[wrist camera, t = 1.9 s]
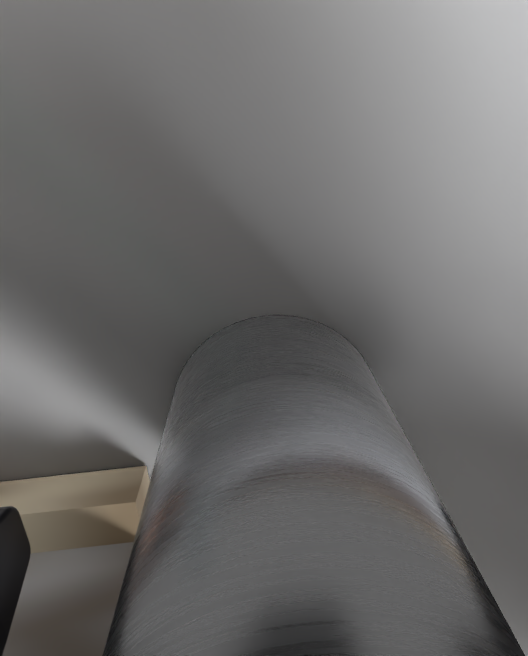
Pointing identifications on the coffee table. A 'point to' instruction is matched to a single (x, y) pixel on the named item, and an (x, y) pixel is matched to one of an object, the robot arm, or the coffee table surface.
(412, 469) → the cell
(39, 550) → the cradle
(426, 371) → the coffee table surface
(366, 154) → the coffee table surface
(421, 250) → the coffee table surface
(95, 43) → the coffee table surface
